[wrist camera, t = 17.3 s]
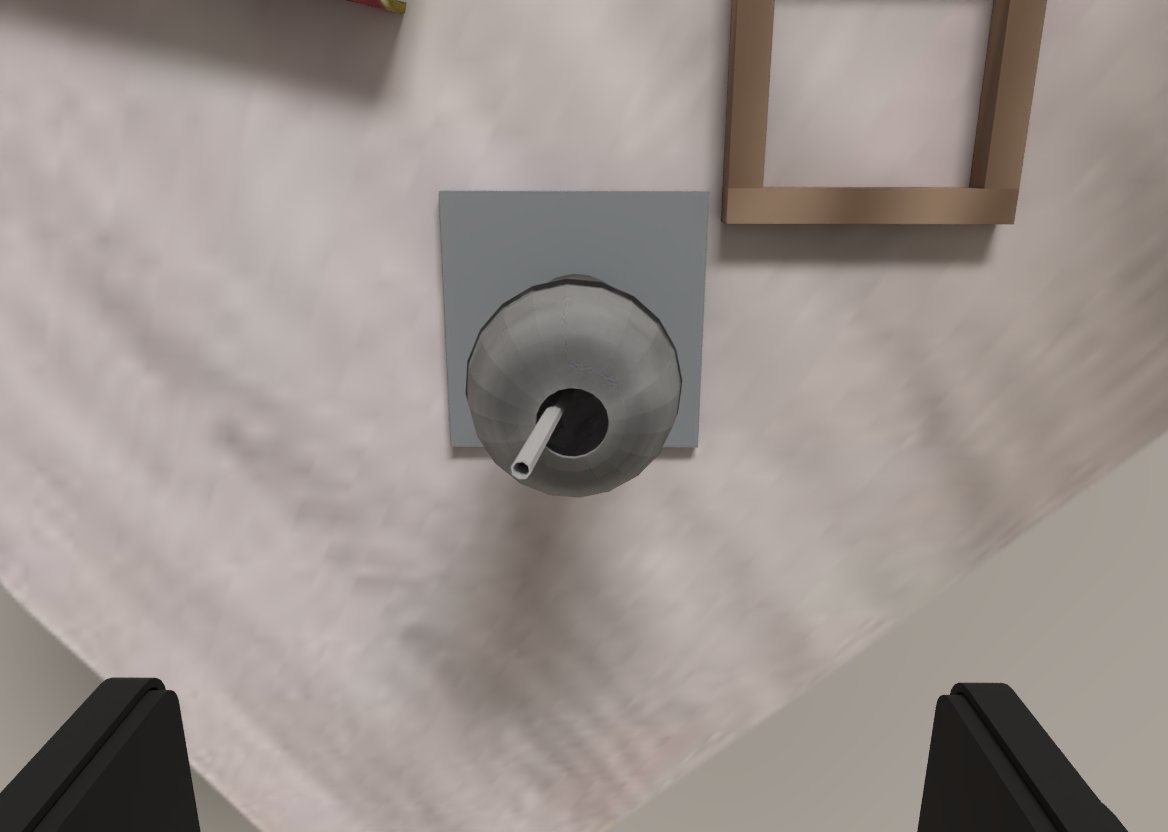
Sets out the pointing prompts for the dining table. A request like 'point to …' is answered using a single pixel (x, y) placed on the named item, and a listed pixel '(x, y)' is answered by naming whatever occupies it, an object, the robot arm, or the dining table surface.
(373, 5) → the hardcover book
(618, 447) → the beverage cup
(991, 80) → the frame
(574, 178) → the dining table surface
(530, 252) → the slate mat
